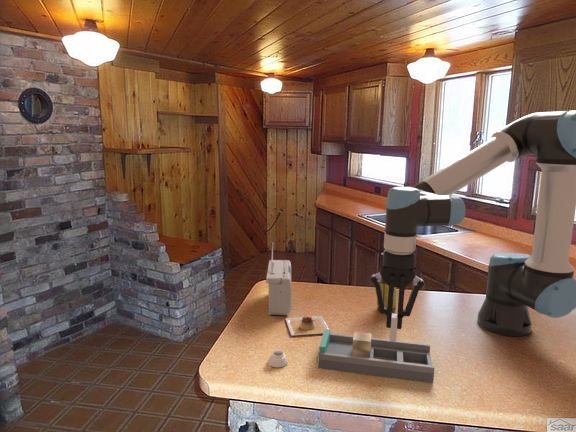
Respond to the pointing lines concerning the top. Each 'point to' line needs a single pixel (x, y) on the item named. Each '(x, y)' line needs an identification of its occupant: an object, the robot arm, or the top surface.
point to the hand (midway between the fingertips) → (392, 339)
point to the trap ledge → (339, 357)
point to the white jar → (277, 359)
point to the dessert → (306, 323)
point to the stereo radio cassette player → (279, 286)
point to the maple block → (361, 344)
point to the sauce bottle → (386, 291)
